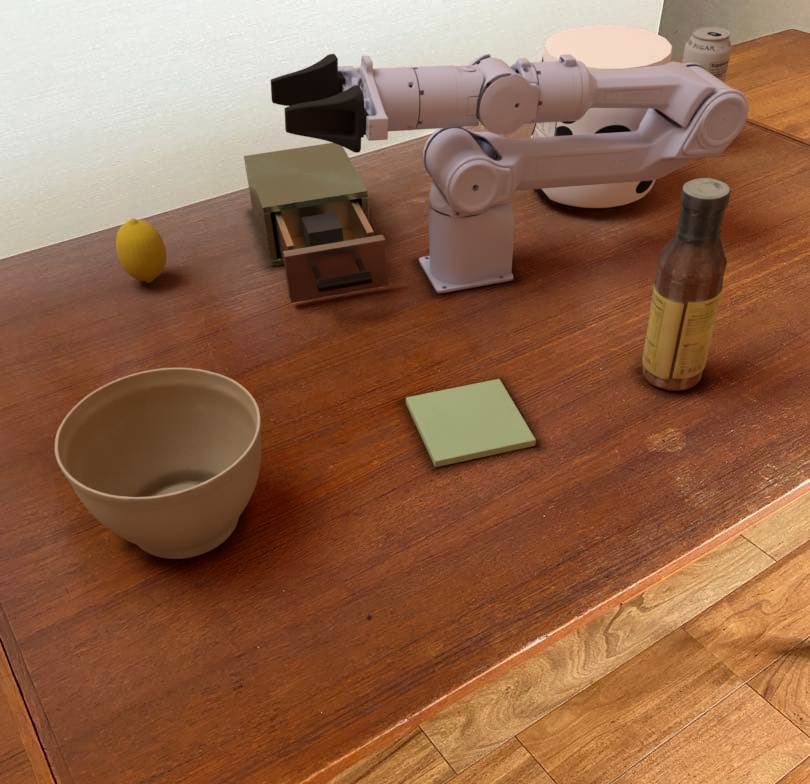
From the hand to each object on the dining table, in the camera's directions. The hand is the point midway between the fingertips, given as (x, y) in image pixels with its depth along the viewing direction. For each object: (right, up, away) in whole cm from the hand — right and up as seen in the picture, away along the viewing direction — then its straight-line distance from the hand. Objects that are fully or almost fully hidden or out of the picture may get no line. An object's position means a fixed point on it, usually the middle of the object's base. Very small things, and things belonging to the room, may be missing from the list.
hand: (278, 105), depth 85 cm
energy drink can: (+53, +14, +41) cm, 68 cm away
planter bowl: (-7, -41, -8) cm, 42 cm away
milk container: (+37, +4, +32) cm, 49 cm away
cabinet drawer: (+4, -11, +18) cm, 21 cm away
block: (+3, -8, +19) cm, 21 cm away
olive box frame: (0, -3, +27) cm, 27 cm away
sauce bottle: (+40, -26, +4) cm, 47 cm away
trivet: (+19, -31, 0) cm, 36 cm away
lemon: (-18, -12, +20) cm, 29 cm away
